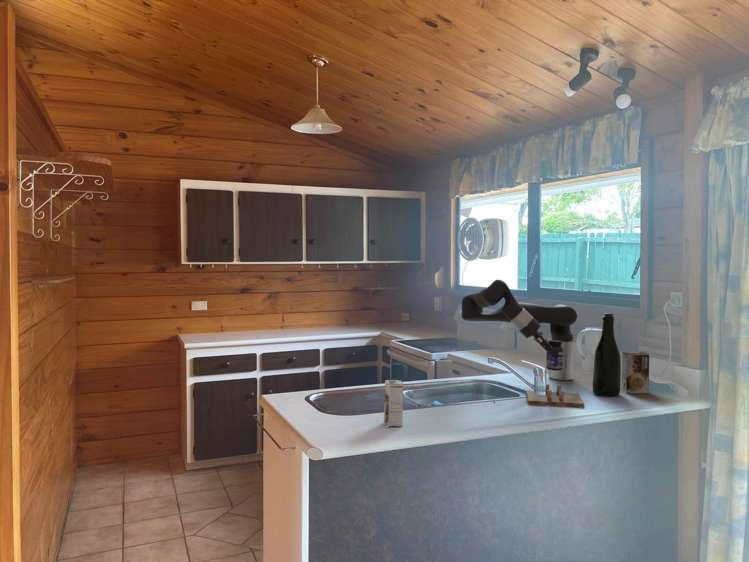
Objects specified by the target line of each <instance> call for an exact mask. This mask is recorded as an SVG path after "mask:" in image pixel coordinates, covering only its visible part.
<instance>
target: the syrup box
mask: <svg viewBox="0 0 749 562" xmlns="http://www.w3.org/2000/svg"><path fill="white" fill-rule="evenodd" d="M383 406H384V408H383V409H384V410H383V412H384V413H383V422H384V423H385V424H384V423H383V424H384V426H402V427H403V417H404V416H403V414H404V413H403V412H404V411H403V410H404V383H403V381H402V380H401V379H400V380H398V379H387V380H384V405H383Z"/></svg>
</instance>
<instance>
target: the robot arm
mask: <svg viewBox="0 0 749 562" xmlns="http://www.w3.org/2000/svg"><path fill="white" fill-rule="evenodd" d="M502 299H504V304H503V305H502V306H501V307H499V308H497V309H496V310H493V311H490V312H487V313H484V308H488V307H490V306H491V307H494V306H496V305H497V304H498V303H500V301H501V300H502ZM461 318H462V320H464V321H467V322H499V323H500V322H501V323H511V324H512V325H513V326H514V327H515V328H516V329H517V330H518V332H520V334H521V335H522V336H523V337H524V338H525V339H529V338H531V337H532V336H533V340H534V342H535V343H536V344H538V345H539V347H541V348H542V349H544V350H545V352H546V353H547V352H549V353H550V354H551V355H552V356H553V357H554V358H557V357H558V356H559V354H558V353H557V352H556V351H555V350H554V349H553V348H552V346H551V345H550V344H549V339H548V338H547V337H546V336H545V334H544V333H543V332H542V331H541V332H540V331H539V330H540V328H541V326H542V325H541V324H549V326H550V327H549V329H550V331H549V332H550V335H551V340H559V341H562V344H561V347H562V348H563V369H562V370H559V371H554V370H549V369H548V378H551V379H552V380H553V379H554V380H559V381H570V380H572V379H573V361H574V359H573V355H574V354H573V353H574V335H573V333H572V330H571V326H572V325H573V324H575V323H576V321H577V319H578V315H577V311H576V310H575V309H574V308H573V307H572V306H569V305H565V304H562V303H561V304H560V303H559V304H555V305H554V306H545V305H540V304H535V303H530V302H519V301H518V300H517V299H516V298H515V296H514V295H513V293H512V291H511V289H510V288H509V286H508V283H506V282H505V281H504V280H502V279H495V280H494V281H493V282H492V283H490V285H489V286H487V287H486V288H484V289H482V290H481V291H479V292H475V293H472V294H469V295H465V296H464V297H463V298H462V300H461Z"/></svg>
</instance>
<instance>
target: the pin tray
mask: <svg viewBox="0 0 749 562" xmlns="http://www.w3.org/2000/svg"><path fill="white" fill-rule="evenodd" d="M545 384H546V394H545V395H536V394H534V391H535V390H525V393H526V394H525V395H526V399H527V403H528V404H534V405H533V406H545V405H549V406H548V407H562V406H564V407H566V408H567V407H568V408H579V407H582V408H581V409H584V408H585V402H584V401H583V398H582V397H581V396H580V393H579V392H578V393H577V392H565V391H564V390H562V385H561V384H557V385H556V391H553V390H550V384H548V383H545Z"/></svg>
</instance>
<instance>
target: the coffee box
mask: <svg viewBox="0 0 749 562" xmlns="http://www.w3.org/2000/svg"><path fill="white" fill-rule="evenodd" d="M621 354H622V355H621V356H622V357H621V387H620V390H622V391H623V392H624V393H626V394H649V393H650V381H649V380H650V354H648V353H647V352H646V351H622V353H621Z"/></svg>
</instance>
